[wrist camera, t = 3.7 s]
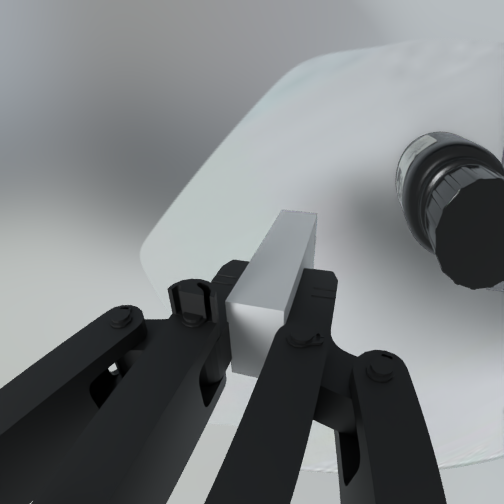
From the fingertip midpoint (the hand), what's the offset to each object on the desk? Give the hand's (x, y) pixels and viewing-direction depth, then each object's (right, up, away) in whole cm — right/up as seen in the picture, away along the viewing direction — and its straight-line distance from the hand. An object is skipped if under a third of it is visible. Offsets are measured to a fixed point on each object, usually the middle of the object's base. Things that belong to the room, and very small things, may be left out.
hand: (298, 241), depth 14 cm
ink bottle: (+15, +6, +10) cm, 19 cm away
